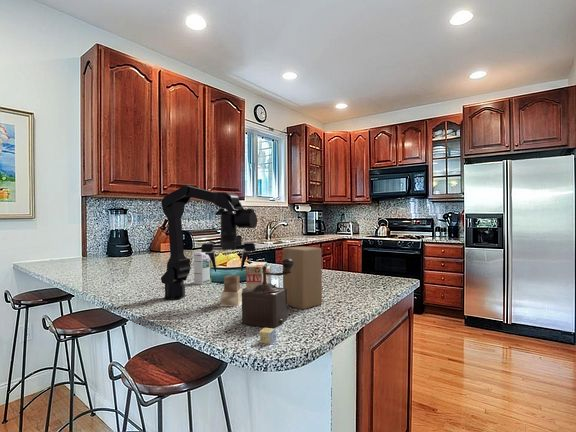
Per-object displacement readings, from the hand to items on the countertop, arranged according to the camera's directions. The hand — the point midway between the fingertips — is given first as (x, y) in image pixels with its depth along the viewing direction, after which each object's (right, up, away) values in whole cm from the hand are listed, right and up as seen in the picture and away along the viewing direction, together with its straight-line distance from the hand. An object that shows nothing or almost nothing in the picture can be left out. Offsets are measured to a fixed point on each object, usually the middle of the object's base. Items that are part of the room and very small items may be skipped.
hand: (228, 271), depth 121 cm
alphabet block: (+16, -12, -37) cm, 42 cm away
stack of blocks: (+10, -12, +19) cm, 25 cm away
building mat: (0, -12, -2) cm, 12 cm away
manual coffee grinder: (+16, -12, -19) cm, 28 cm away
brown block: (+2, -7, -2) cm, 7 cm away
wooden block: (+27, -12, -2) cm, 29 cm away
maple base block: (+2, -11, -1) cm, 11 cm away
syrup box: (-19, -12, +38) cm, 44 cm away
